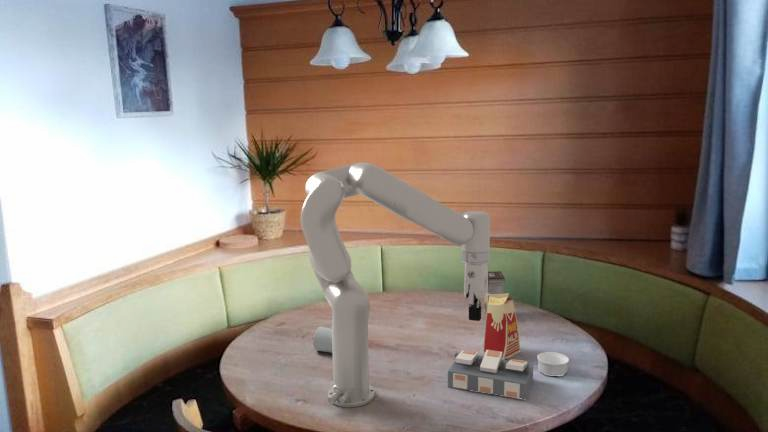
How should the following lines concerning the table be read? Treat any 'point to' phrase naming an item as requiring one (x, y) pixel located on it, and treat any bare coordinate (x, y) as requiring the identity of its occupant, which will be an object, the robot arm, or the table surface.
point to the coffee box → (494, 286)
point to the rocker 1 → (466, 357)
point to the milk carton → (501, 326)
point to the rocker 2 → (516, 364)
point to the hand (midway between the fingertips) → (474, 319)
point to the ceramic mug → (323, 339)
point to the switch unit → (491, 378)
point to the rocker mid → (491, 361)
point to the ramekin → (552, 363)
